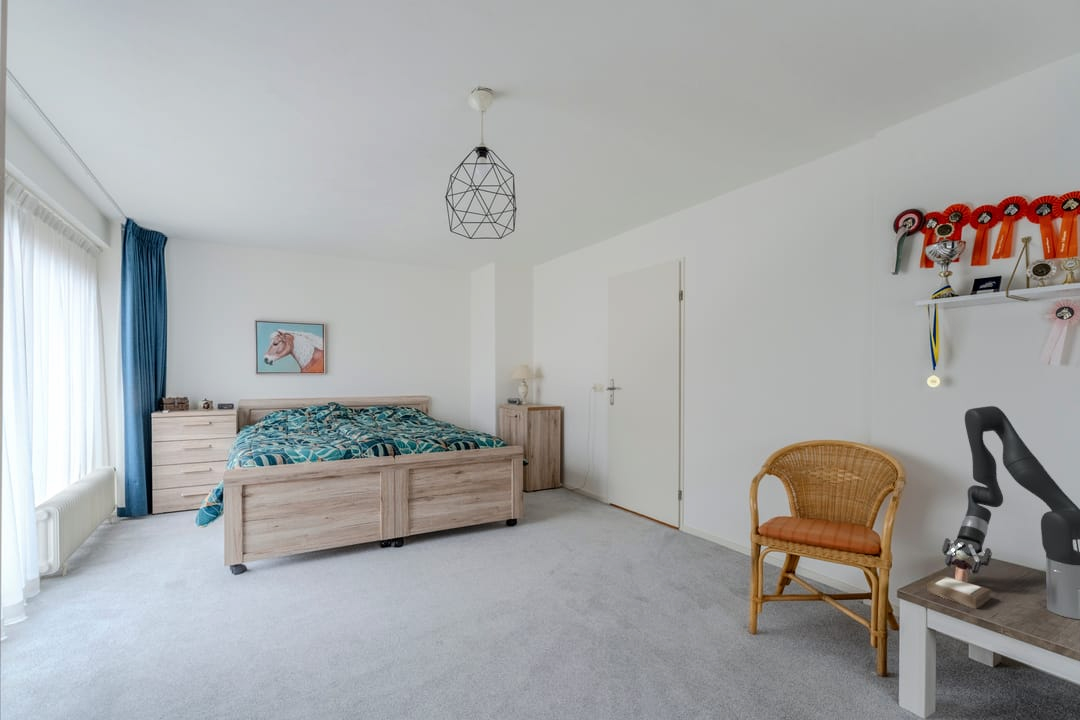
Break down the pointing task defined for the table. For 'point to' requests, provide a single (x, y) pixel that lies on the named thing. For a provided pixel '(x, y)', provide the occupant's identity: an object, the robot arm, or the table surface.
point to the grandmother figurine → (961, 566)
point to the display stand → (959, 591)
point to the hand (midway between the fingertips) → (960, 568)
